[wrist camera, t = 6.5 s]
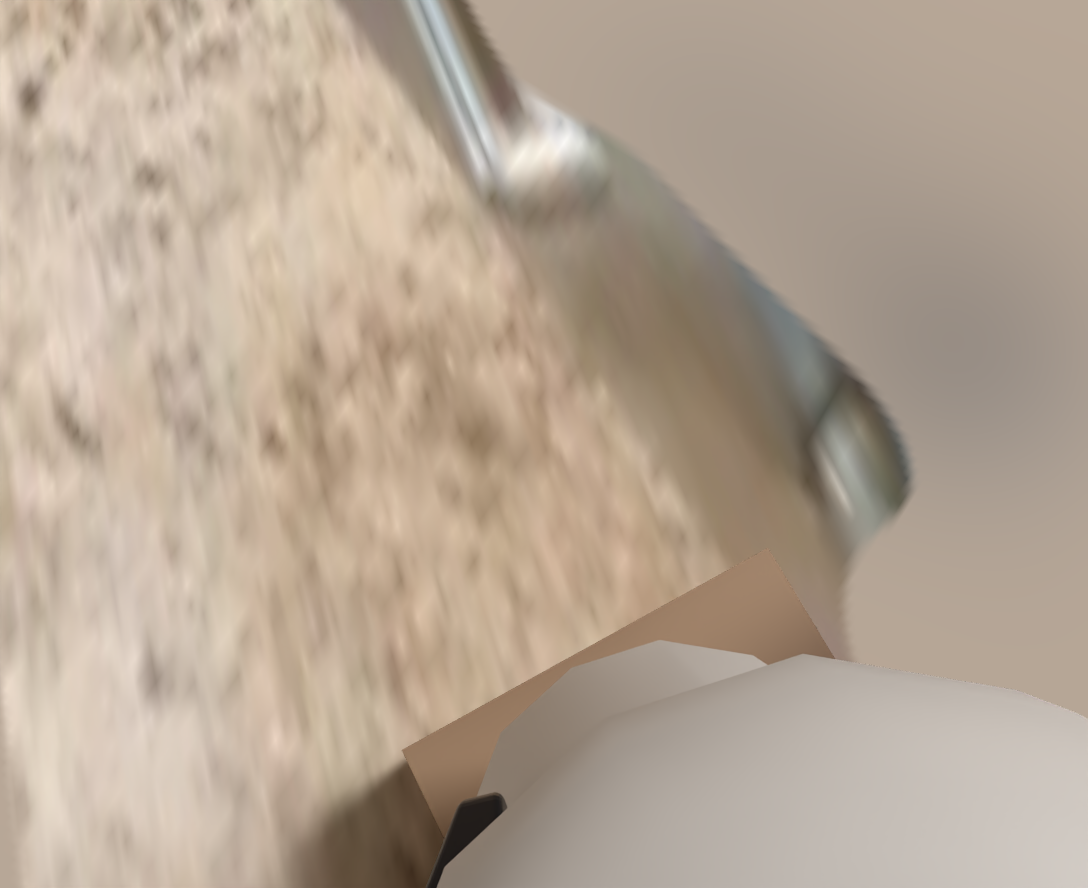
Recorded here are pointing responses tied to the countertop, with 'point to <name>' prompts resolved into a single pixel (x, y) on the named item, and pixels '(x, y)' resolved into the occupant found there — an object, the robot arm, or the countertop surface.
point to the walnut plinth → (694, 619)
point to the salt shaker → (781, 780)
